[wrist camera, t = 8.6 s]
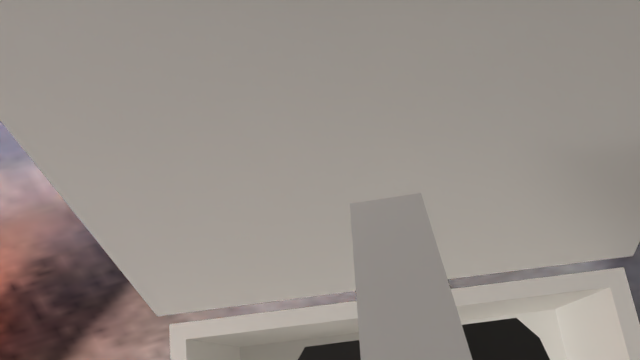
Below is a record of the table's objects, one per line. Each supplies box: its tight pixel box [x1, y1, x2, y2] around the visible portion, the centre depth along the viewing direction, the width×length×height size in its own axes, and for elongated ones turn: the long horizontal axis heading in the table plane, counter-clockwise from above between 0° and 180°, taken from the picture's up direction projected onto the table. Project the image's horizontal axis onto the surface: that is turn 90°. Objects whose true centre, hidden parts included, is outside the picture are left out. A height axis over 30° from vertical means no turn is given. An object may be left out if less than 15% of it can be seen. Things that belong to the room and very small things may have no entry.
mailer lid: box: [0, 0, 640, 316], centre depth 12 cm, size 21×17×3 cm
